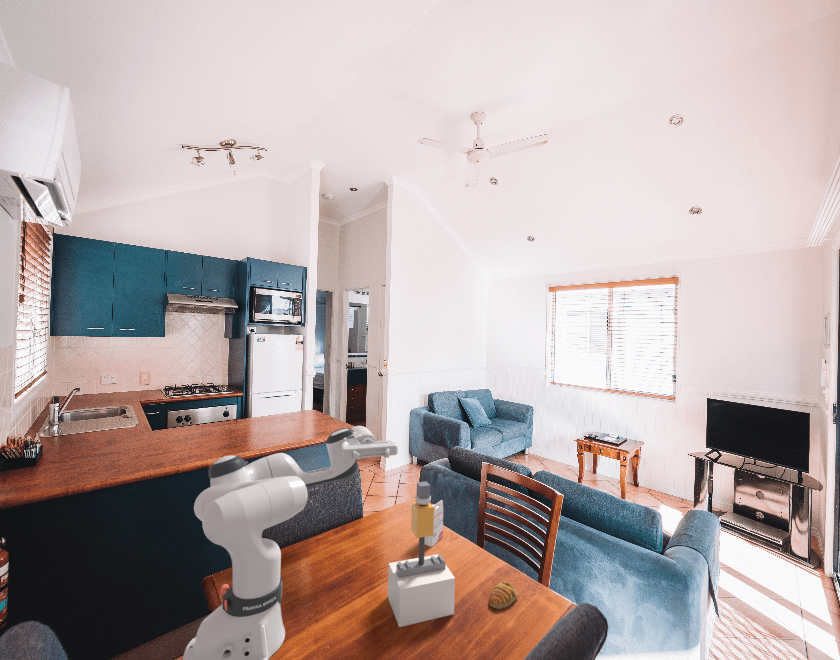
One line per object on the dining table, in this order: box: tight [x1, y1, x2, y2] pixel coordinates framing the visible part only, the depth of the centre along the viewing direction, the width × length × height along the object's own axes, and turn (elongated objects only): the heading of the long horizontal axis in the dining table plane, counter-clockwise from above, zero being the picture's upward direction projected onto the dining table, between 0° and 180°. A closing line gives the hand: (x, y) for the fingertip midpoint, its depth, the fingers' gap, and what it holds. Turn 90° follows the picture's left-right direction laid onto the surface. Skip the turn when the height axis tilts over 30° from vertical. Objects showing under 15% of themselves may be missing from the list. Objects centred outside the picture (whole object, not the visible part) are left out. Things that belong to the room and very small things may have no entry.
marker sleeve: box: [410, 500, 434, 539], centre depth 108 cm, size 5×5×8 cm
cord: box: [414, 481, 432, 565], centre depth 108 cm, size 4×4×25 cm
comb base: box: [387, 553, 456, 628], centre depth 108 cm, size 16×12×13 cm
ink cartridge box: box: [424, 499, 444, 547], centre depth 143 cm, size 9×5×15 cm, turn 147°
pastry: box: [488, 580, 518, 610], centre depth 111 cm, size 9×7×4 cm
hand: (373, 456), depth 128 cm, fingers open, 8 cm apart
